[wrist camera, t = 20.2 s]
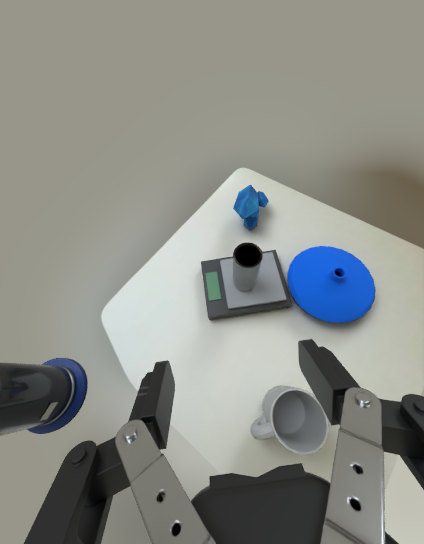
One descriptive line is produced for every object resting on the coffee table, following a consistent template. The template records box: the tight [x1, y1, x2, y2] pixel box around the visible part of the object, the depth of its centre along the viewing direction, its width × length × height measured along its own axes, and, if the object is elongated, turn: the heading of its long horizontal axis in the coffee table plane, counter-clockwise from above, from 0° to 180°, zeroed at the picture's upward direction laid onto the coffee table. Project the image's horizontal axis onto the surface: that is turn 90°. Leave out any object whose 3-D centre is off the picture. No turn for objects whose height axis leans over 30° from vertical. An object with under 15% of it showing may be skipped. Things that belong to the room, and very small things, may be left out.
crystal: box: [233, 185, 268, 230], centre depth 49 cm, size 7×9×12 cm
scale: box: [201, 250, 292, 320], centre depth 44 cm, size 16×12×3 cm
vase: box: [288, 246, 375, 323], centre depth 41 cm, size 16×16×7 cm
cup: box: [251, 386, 329, 455], centre depth 32 cm, size 7×10×9 cm
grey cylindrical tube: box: [233, 243, 263, 291], centre depth 38 cm, size 4×4×10 cm
